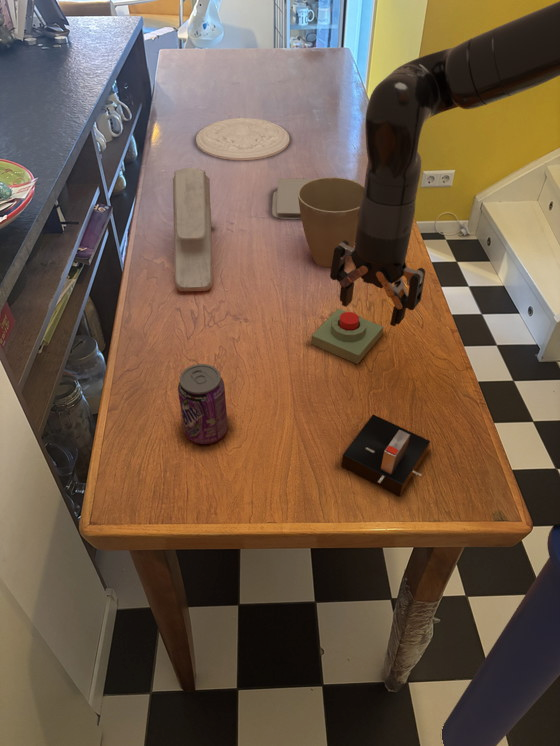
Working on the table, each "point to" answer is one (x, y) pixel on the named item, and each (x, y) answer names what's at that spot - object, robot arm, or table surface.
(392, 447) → the rotary knob
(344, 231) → the plant pot
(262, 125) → the ceiling medallion
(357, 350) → the switch
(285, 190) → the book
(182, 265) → the leaning slabs
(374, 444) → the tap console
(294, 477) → the table surface
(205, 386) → the beverage can
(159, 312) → the table surface
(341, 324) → the button
